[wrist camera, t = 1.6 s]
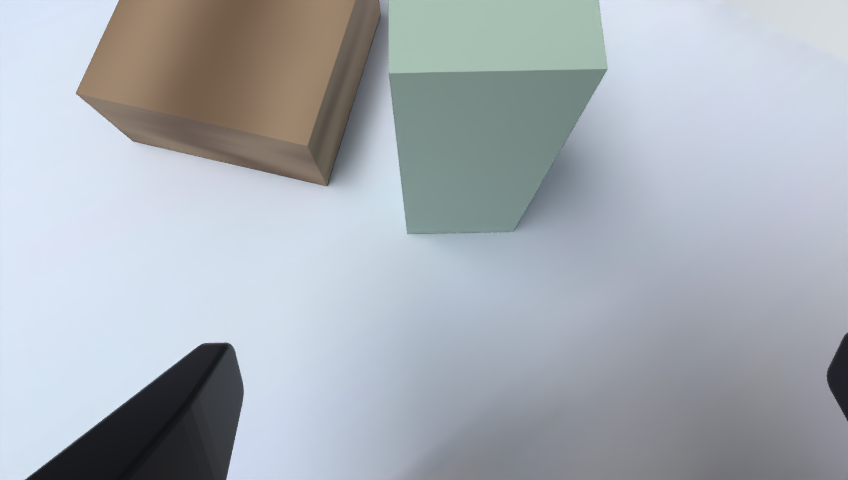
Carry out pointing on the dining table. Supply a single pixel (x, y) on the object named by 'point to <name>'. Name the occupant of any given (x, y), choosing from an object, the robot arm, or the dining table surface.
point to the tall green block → (486, 103)
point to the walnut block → (235, 78)
